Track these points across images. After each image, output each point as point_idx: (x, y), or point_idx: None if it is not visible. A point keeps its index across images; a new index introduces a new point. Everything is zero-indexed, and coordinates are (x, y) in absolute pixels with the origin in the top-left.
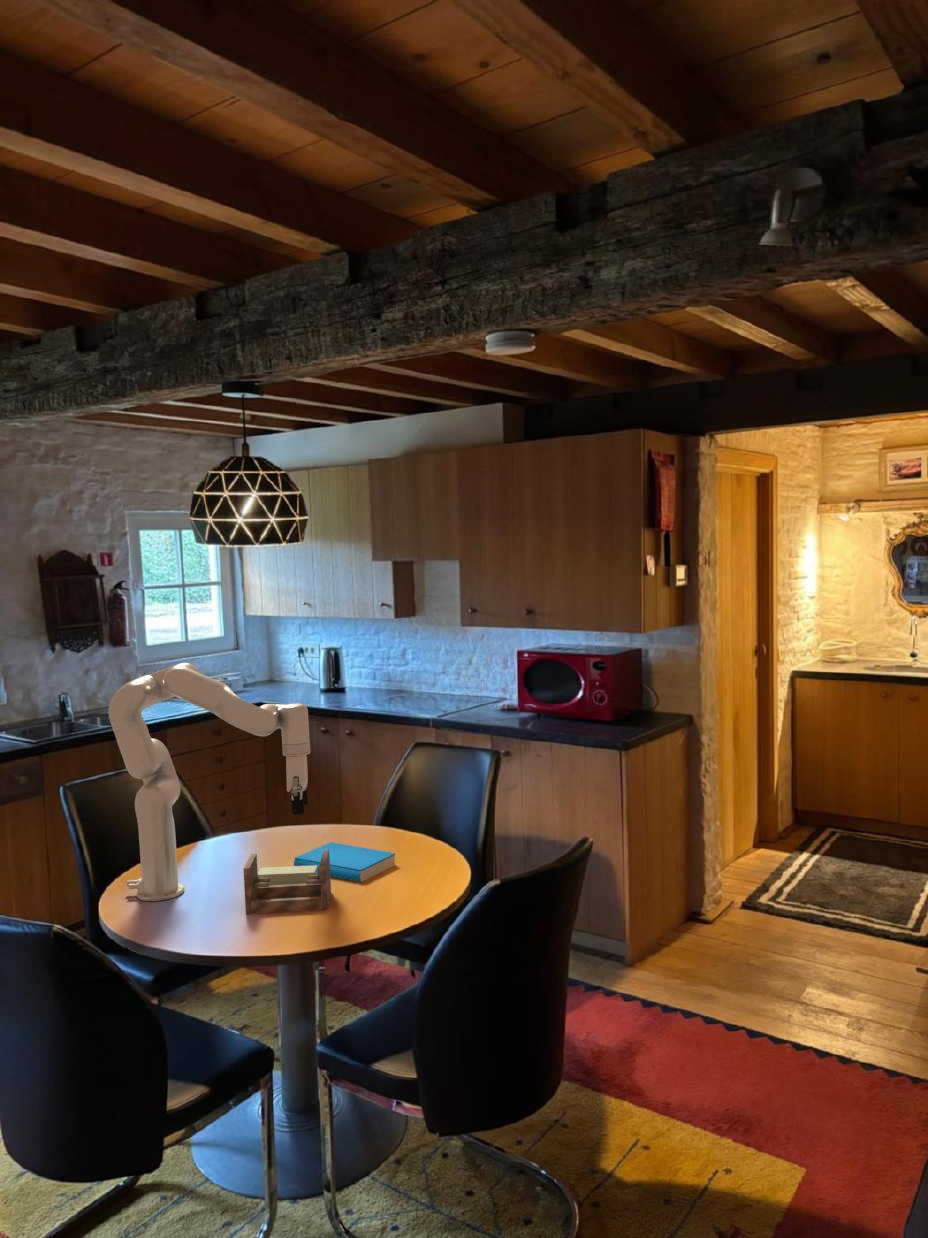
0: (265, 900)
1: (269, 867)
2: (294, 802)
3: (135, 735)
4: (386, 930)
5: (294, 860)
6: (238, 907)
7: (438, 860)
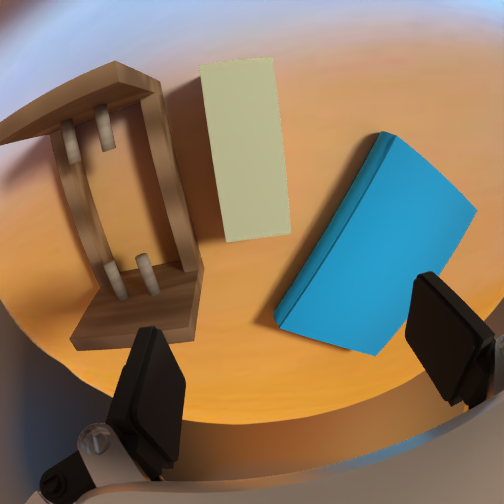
0: (62, 164)
1: (273, 84)
2: (107, 422)
3: None
4: (77, 371)
5: (391, 134)
6: None
7: (370, 384)
